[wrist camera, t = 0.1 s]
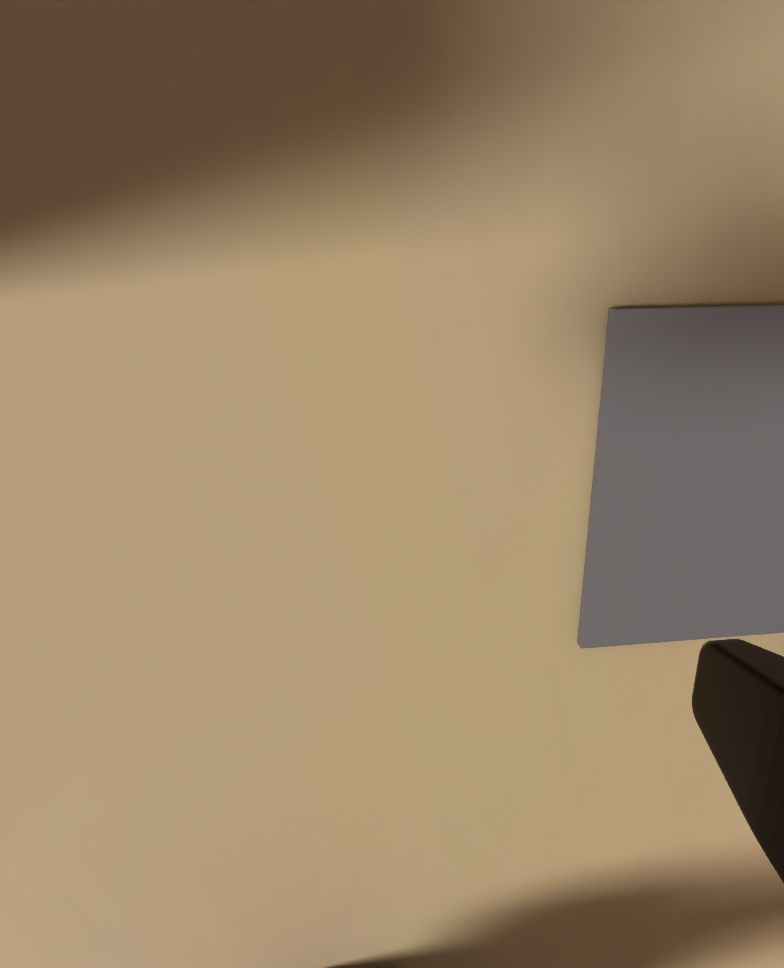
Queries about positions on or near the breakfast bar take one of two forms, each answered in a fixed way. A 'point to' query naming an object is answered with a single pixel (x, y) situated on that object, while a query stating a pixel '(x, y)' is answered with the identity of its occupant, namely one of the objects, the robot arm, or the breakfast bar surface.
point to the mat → (687, 478)
